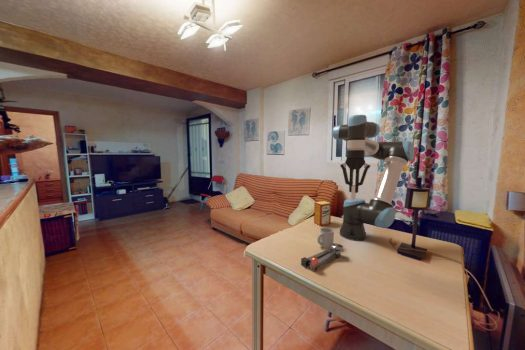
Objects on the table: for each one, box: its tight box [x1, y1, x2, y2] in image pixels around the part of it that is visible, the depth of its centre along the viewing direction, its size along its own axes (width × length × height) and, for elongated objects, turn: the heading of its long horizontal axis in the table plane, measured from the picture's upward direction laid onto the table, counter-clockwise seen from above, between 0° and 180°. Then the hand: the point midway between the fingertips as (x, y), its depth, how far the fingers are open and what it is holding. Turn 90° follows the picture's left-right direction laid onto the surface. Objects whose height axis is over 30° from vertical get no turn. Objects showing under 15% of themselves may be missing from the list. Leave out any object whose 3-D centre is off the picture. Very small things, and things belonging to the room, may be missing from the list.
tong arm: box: [310, 242, 344, 272], centre depth 94 cm, size 22×6×5 cm, turn 129°
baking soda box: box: [313, 200, 332, 227], centre depth 142 cm, size 10×6×16 cm
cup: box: [316, 227, 335, 249], centre depth 109 cm, size 7×10×9 cm
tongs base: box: [300, 248, 342, 269], centre depth 95 cm, size 22×6×4 cm, turn 124°
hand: (353, 199), depth 95 cm, fingers closed
